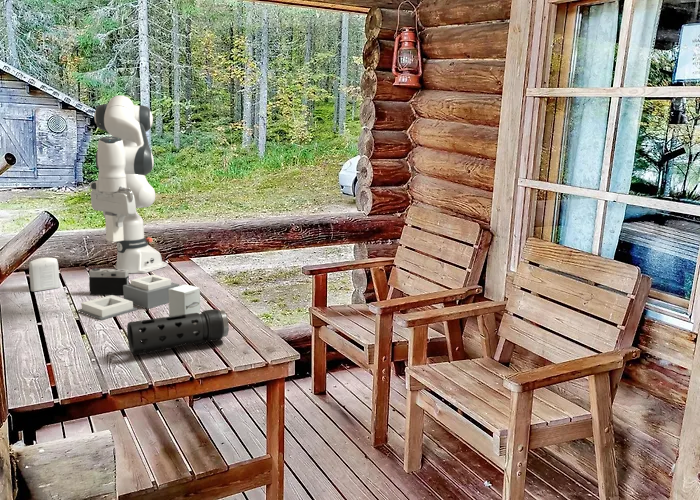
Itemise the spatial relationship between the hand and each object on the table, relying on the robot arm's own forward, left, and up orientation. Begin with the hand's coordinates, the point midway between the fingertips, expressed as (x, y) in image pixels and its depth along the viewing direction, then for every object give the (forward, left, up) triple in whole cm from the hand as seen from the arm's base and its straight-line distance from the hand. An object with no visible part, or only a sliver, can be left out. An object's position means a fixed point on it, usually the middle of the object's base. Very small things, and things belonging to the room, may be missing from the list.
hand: (114, 225), depth 203 cm
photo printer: (+4, -41, -30) cm, 51 cm away
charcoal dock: (-13, +1, -30) cm, 33 cm away
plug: (0, 0, -5) cm, 5 cm away
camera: (-9, -18, -30) cm, 36 cm away
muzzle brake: (+10, +44, -30) cm, 55 cm away
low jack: (+4, -1, -30) cm, 30 cm away
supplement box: (-4, +30, -30) cm, 43 cm away
